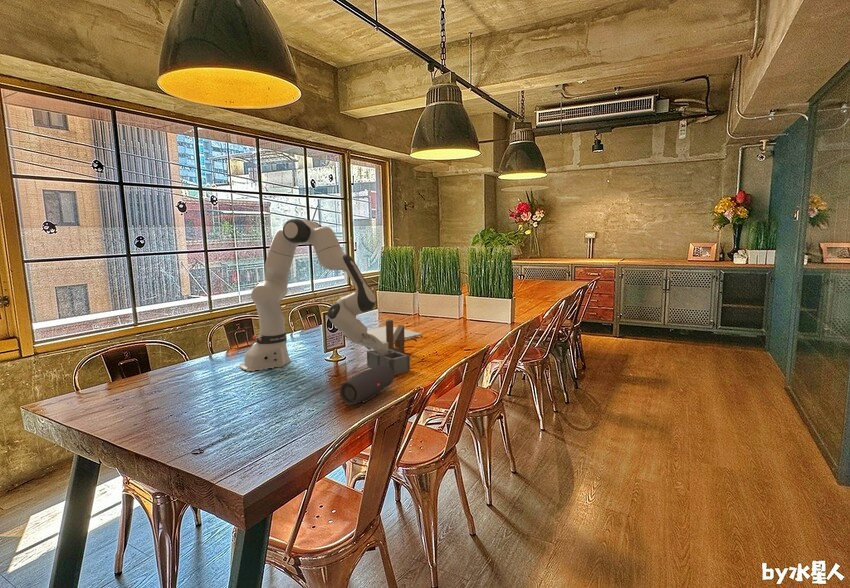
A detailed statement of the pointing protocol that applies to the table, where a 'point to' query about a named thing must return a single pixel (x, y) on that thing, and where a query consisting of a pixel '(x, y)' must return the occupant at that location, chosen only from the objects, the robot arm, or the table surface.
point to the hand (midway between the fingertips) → (376, 350)
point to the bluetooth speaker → (366, 384)
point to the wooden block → (395, 337)
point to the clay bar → (384, 348)
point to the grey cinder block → (389, 361)
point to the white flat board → (381, 333)
